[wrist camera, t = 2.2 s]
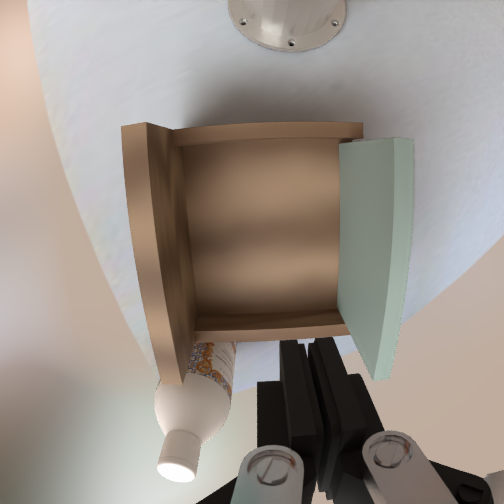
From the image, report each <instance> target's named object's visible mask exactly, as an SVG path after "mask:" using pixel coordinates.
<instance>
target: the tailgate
mask: <svg viewBox="0 0 504 504" xmlns="http://www.w3.org/2000/svg"><path fill="white" fill-rule="evenodd" d="M339 165H340V245H339V274H338V294H337V308H338V310H339V312H340V314H341V316H342V318H343V320H344V322H345V324H346V326H347V328H348V330H349V332H350V334H351V336H352V338H353V340H354V342H355V344H356V347H357V349H358V351H359V353H360V355H361V357H362V359H363V361H364V363H365V365H366V367H367V369H368V372H369V374H370V376H371V378H372V380H373V381H377V380H384V379H389V378H390V374H391V370H392V365H393V360H394V356H395V351H396V347H397V342H398V336H399V331H400V326H401V320H402V314H403V308H404V301H405V294H406V287H407V279H408V271H409V261H410V251H411V239H412V225H413V206H414V139H407V138H394V137H393V138H383V139H374V140H366V141H357V142H349V143H342V144H339Z"/></svg>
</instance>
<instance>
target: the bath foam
mask: <svg viewBox="0 0 504 504" xmlns="http://www.w3.org/2000/svg"><path fill="white" fill-rule="evenodd" d="M235 354H236V342H195V345H194V349H193V352H192V355H191V359H190V362H189V365H188V368H187V372H186V375H185V379H184V382H183V385H165V384H162V382H161V379H160V381H159V383H158V386H157V389H156V394H155V413H156V417H157V420H158V422H159V425H160V427H161V429H162V431H163V433H164V435H165V436H166V438H165V440H164V444H163V447H162V451H161V454H160V457H159V461H158V465H157V469H158V471H159V473H160V474H161V475H162V476H164V477H166V478H167V479H170V480H173V481H177V482H189V481H191V480H193V479H194V478H195V476H196V472H197V466H198V460H199V455H200V448H201V445H202V444H204V443H205V442H207V441H208V440H209V439H211V438H212V437H213V436H214V435H216V434H217V433H218V431H219V430H220V429H221V428H222V427H223V425H224V423H225V421H226V419H227V417H228V414H229V410H230V405H231V395H232V385H233V375H234V364H235Z"/></svg>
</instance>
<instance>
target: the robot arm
mask: <svg viewBox="0 0 504 504" xmlns="http://www.w3.org/2000/svg"><path fill="white" fill-rule="evenodd" d="M228 9H229V13H230V16H231V19H232V21H233V23H234V24H235V26H236V27H237V28H238V30H239V31H240V32H241V33H242V34H243V35H244V36H246V37H247V38H248V39H250V40H251V41H253V42H255V43H257V44H259V45H260V46H263V47H266V48H269V49H272V50H277V51H282V52H301V51H308V50H311V49H315V48H318V47H320V46H322V45H324V44H326V43H327V42H328V41H330V40H331V39H332V38H333V37H334V36H335V35H336V34H337V33H338V32H339V30H340V29H341V27H342V25H343V23H344V20H345V15H346V6H345V0H228ZM243 23H245V24H246V25H241V24H243ZM332 24H333V25H335V26H333V25H332ZM289 44H293V45H294V46H293V47H292V46H290V45H289ZM279 347H280V381H265V382H257V448H256V449H254V450H253V451H251V452H249V453H248V454H247V455H246V456H245V457H244V459H243V461H242V463H241V466H240V469H239V473H238V476H237V477H236V478H234V479H233V480H231V481H230V482H229V483H227V484H226V485H224V486H223V487H221V488H220V489H218V490H217V491H215V492H214V493H212V494H210V495H209V496H207V497H206V498H204V499H203V500H201V501H199V502H198V503H196V504H311V502H312V497H313V493H314V491H315V486H316V481H317V484H318V489H319V492H325V493H326V498H327V500H331V499H333V503H334V504H504V470H502V471H498V472H495V473H490V474H487V475H486V477H485V478H481V477H479V476H476V475H473V474H470V473H467V472H463V471H459V470H457V469H454V468H451V467H448V466H445V465H441V464H439V463H436V462H433V461H430V460H428V459H427V458H426V456H425V455H424V453H423V452H422V450H421V449H420V448H419V446H418V445H417V443H416V442H415V441H414V440H413V439H412V438H411V437H410V436H408V435H407V434H405V433H402V432H398V431H385V430H384V428H383V426H382V423H381V421H380V418H379V416H378V413H377V411H376V409H375V407H374V404H373V402H372V399H371V397H370V395H369V393H368V390H367V388H366V386H365V383H364V381H363V379H362V377H361V375H360V374H349V375H348V374H347V372H346V369H345V366H344V364H343V362H342V359H341V356H340V354H339V351H338V349H337V346H336V344H335V341H334V339H333V337H324V338H315V340H314V343H309V345H308V358H307V354H306V350H305V346H304V344H298V341H297V340H280V344H279Z"/></svg>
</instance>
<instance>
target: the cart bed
mask: <svg viewBox="0 0 504 504" xmlns="http://www.w3.org/2000/svg"><path fill="white" fill-rule="evenodd" d="M121 134H122V151H123V165H124V177H125V188H126V197H127V206H128V215H129V223H130V230H131V237H132V244H133V251H134V257H135V263H136V269H137V275H138V281H139V286H140V291H141V297H142V302H143V307H144V312H145V316H146V321H147V326H148V330H149V335H150V339H151V343H152V347H153V351H154V355H155V359H156V363H157V367H158V371H159V375H160V379H161V382H162V384H165V385H183V382H184V379H185V375H186V372H187V368H188V365H189V362H190V359H191V355H192V352H193V349H194V345H195V342H252V341H275V340H293V339H307V338H320V337H332V336H343V335H351V334H350V332H349V330H348V328H347V326H346V324H345V322H344V320H343V318H342V316H341V314H340V312H339V310H338V308H337V294H338V274H339V245H340V165H339V144H342V143H349V142H352V140H354V139H361V138H363V123H353V122H317V121H295V122H258V123H240V124H225V125H213V126H202V127H192V128H183V129H175V130H171V129H168V128H165V127H161V126H158V125H154V124H151V123H147V122H144V123H138V124H132V125H126V126H121Z"/></svg>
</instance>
